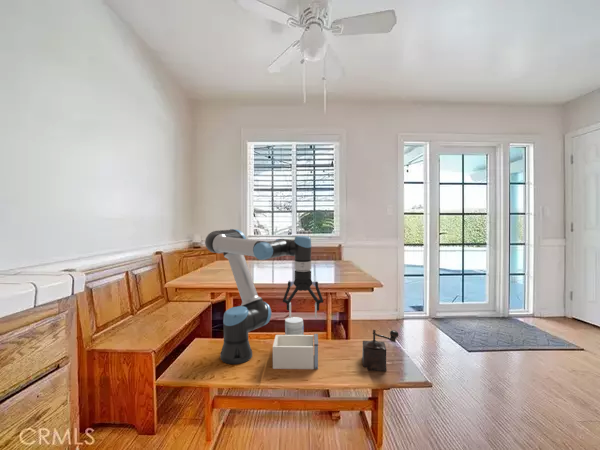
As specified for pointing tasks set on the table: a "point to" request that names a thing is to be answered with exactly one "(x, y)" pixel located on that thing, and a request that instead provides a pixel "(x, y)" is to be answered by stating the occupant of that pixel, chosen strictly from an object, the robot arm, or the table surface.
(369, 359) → the dark brown coffee grinder
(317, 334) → the light blue panel
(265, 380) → the table surface
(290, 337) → the box
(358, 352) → the table surface
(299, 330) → the supplement tub
